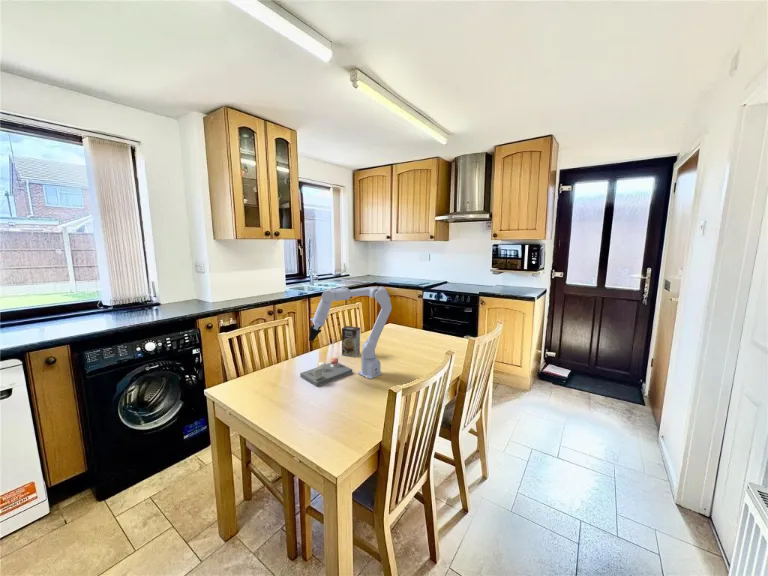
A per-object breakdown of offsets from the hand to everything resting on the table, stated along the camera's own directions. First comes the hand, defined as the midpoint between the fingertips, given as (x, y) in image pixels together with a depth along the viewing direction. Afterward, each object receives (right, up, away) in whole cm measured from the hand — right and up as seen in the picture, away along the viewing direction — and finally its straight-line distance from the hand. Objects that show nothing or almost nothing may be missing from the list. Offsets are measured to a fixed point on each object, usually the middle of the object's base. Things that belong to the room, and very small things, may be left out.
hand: (312, 338), depth 152 cm
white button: (+5, -15, +3) cm, 16 cm away
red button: (+10, -14, +8) cm, 19 cm away
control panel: (+7, -18, +1) cm, 20 cm away
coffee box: (+16, -14, +29) cm, 36 cm away
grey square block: (+5, -17, -7) cm, 19 cm away
